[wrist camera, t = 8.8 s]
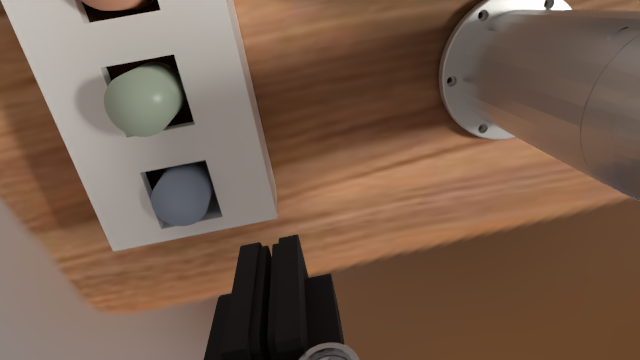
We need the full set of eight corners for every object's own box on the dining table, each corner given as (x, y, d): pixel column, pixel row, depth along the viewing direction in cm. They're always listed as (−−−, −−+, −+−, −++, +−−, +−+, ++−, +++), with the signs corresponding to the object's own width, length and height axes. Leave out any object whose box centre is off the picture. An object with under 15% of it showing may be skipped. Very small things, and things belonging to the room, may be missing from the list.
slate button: (208, 148, 33) (199, 171, 29) (221, 191, 35) (214, 220, 30) (160, 158, 33) (142, 182, 29) (175, 201, 35) (161, 231, 30)
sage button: (177, 57, 29) (160, 67, 24) (193, 111, 31) (180, 130, 26) (121, 67, 29) (93, 79, 24) (140, 121, 30) (118, 142, 26)
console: (212, -91, 29) (199, -114, 23) (276, 187, 38) (277, 218, 32) (25, -60, 28) (-33, -75, 23) (135, 215, 37) (113, 251, 32)
